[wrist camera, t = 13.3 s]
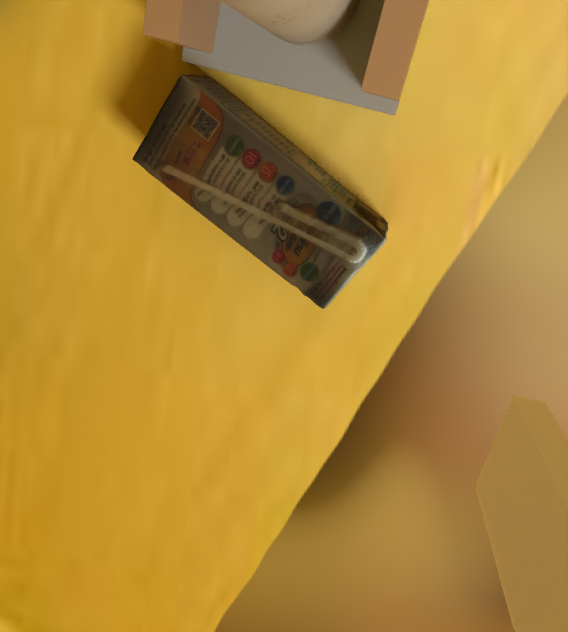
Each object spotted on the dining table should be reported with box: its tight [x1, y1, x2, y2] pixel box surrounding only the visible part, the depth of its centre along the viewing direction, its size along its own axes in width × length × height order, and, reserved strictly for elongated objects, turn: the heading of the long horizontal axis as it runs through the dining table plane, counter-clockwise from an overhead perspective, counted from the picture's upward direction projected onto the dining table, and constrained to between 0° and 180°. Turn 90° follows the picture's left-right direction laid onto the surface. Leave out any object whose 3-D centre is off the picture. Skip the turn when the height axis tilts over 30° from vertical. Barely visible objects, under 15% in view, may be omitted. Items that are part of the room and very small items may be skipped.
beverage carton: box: [133, 75, 388, 309], centre depth 42 cm, size 8×19×7 cm, turn 53°
